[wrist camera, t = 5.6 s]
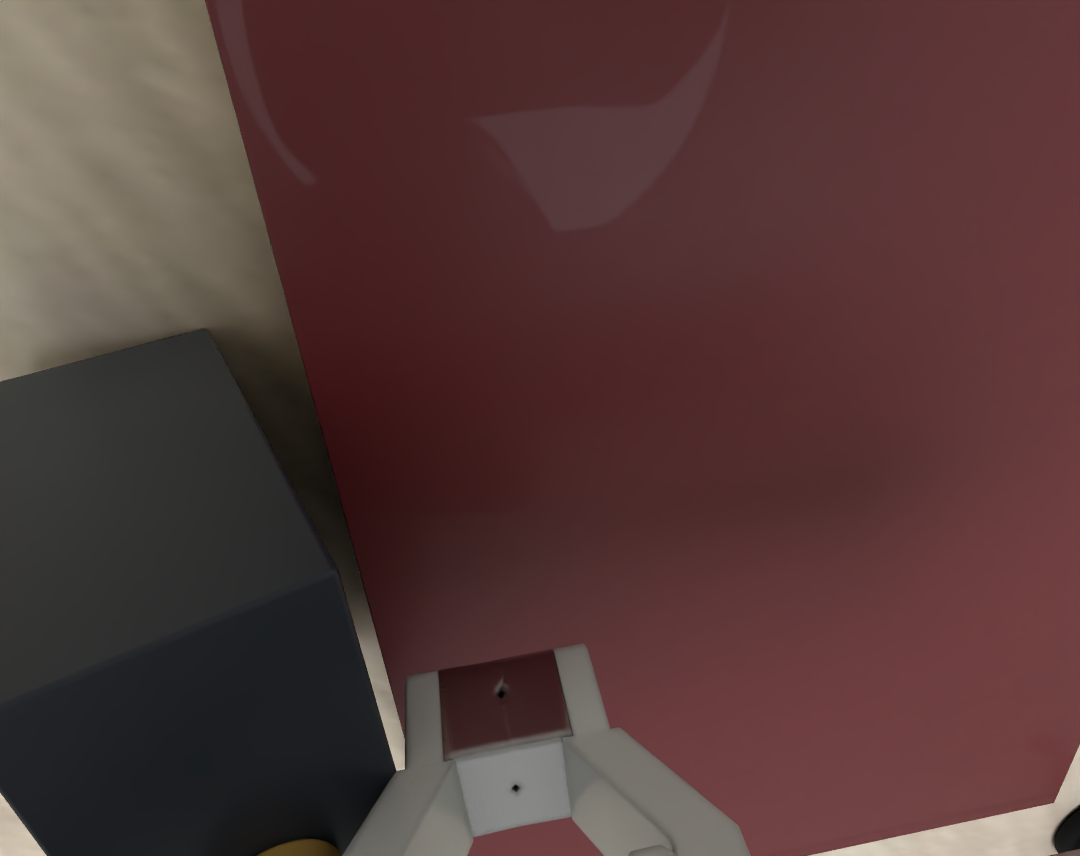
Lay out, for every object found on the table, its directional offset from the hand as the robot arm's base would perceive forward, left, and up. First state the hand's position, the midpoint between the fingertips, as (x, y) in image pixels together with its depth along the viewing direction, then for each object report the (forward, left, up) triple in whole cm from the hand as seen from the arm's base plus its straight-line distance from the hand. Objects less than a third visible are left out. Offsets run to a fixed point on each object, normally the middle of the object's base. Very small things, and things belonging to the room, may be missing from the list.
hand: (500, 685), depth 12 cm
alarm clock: (0, -5, -1) cm, 5 cm away
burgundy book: (0, +6, -6) cm, 8 cm away
